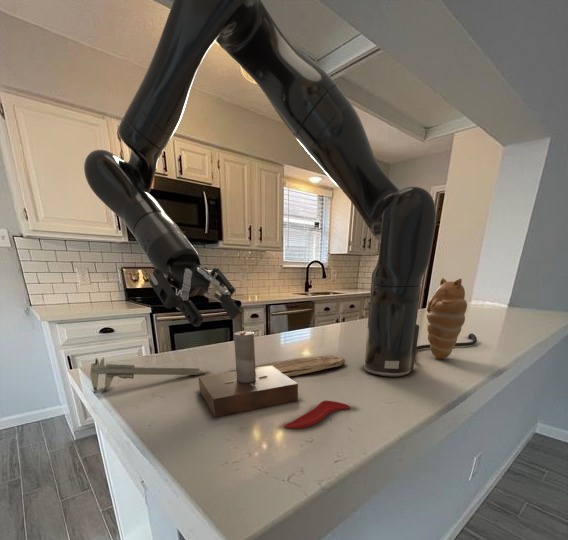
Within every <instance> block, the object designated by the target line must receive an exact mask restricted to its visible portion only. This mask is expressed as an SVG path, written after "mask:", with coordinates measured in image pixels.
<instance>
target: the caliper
mask: <svg viewBox="0 0 568 540" xmlns="http://www.w3.org/2000/svg"><path fill="white" fill-rule="evenodd" d="M205 373H206V370H205V369H201V368H200V367H198V366H164V365H163V366H161V365H135V363H121V362H116V363H115V362H106V364H105V357H102V358H101V359H100V361H99V359H98V357H97V356H95V361H94V362H92V363H91V365H90V374H89V375H90V376H89V377H90V380H91V385H92V388H93V391H94V392H97V391H98V385H99V384H98V383H99V375H105V377H104V378H105V379H104V390H105V392H107V391H108V390H109V389H110V387H111V384H112V381H113V379H114V377H118V378H120V379H131V380H133V379H134V378H135V375H137V376H139V375H146V376H147V375H148V376H150V375H153V376H155V375H157V376H160V375H163V376H165V375H166V376H167V375H168V376H199V375H200V374H205Z"/></svg>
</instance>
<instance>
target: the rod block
mask: <svg viewBox="0 0 568 540" xmlns="http://www.w3.org/2000/svg"><path fill="white" fill-rule="evenodd" d="M255 370H256V380H255V381H253V382H250V383H241V382H238V381H237V374H236V371H235V370H232V371H226V372H220V373H211V374H207V375H200V376H199V375H198V386H199V393H200V395H201V396H202V398H203V399H204V401H205V403H206V405H207V406H208V408H209V409H210V411H211V413H212V414H213V416H214V417H215V418H218V417H224V416H227V415H228V416H229V415H233V414H237V413H238V414H239V413H244V412H248V411H252V410H257V409H263V408H266V407H271V406H277V405H282V404H286V403H291V402H296V401H298V400H299V383H298V382H297V381H296V380H295V381H294V380H293V379H291V378H290V377H287V376H286V375H285V374H283V373H282V372H280V371H279V370H277V369H276V368H274V367H273V366H265V367H258V368H255Z"/></svg>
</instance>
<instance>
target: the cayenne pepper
mask: <svg viewBox="0 0 568 540" xmlns="http://www.w3.org/2000/svg"><path fill="white" fill-rule="evenodd" d="M349 409H351V407H350V405H349V404H346V403H342V402H339V401H335V400H334V401H333V400H322V401H321V402H319V403H318V404H316V405H315V406H314V407H313V408H312V409H310V410H309V411H308V412H306V413H304V414H303V415H301V416H299V417H298V418H296V419H294V420H293V421H290V422H289V423H286V424H285V425H283V427H284V428H287V429H303V428H307V427H311V426H314V425H316V424H318V423H320V422H321V421H322V420H323V419H324V418H325V417H327V416H328V415H330V414H331V413H333V412H335V411H340V410H349Z"/></svg>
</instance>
